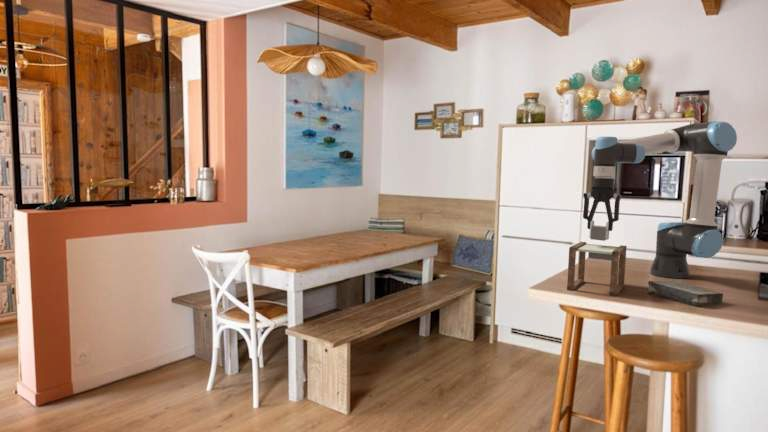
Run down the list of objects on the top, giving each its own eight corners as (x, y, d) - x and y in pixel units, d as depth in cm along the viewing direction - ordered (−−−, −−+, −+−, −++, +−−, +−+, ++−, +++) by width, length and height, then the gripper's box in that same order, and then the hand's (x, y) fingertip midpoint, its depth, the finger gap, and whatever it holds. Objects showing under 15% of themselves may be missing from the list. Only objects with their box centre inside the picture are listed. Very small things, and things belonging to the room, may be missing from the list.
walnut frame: (623, 286, 204) (626, 245, 202) (615, 296, 188) (618, 252, 186) (578, 280, 213) (580, 241, 211) (567, 289, 197) (569, 247, 195)
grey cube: (607, 239, 203) (608, 226, 202) (604, 240, 199) (605, 227, 198) (593, 238, 206) (594, 225, 205) (590, 239, 202) (591, 226, 201)
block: (697, 308, 175) (698, 293, 175) (646, 294, 193) (647, 280, 193) (723, 305, 181) (725, 290, 180) (672, 291, 199) (673, 278, 198)
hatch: (620, 258, 208) (621, 244, 207) (611, 267, 190) (612, 251, 190) (588, 255, 214) (589, 242, 214) (576, 263, 197) (577, 248, 196)
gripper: (576, 176, 202) (572, 236, 204) (627, 178, 192) (622, 242, 194) (581, 176, 208) (577, 235, 210) (631, 178, 198) (626, 240, 200)
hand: (599, 238), depth 202 cm, fingers closed on grey cube, 5 cm apart
